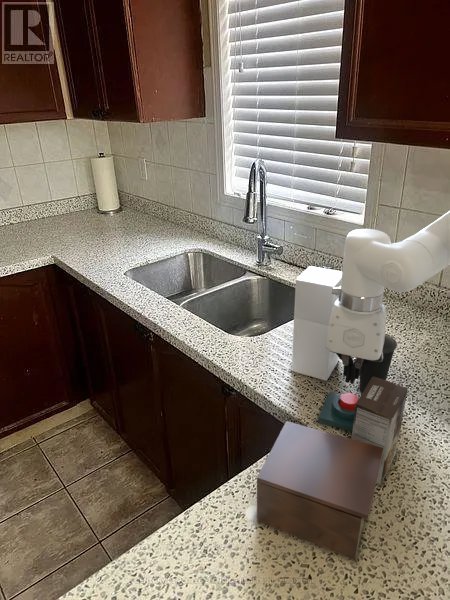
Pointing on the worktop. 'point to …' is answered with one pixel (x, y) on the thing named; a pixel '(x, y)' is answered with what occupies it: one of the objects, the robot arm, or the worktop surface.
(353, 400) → the button
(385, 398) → the coffee box
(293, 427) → the lid
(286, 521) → the chest
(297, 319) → the tall white carton
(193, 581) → the worktop surface
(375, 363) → the drinking cup
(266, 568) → the worktop surface
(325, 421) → the red push button base
